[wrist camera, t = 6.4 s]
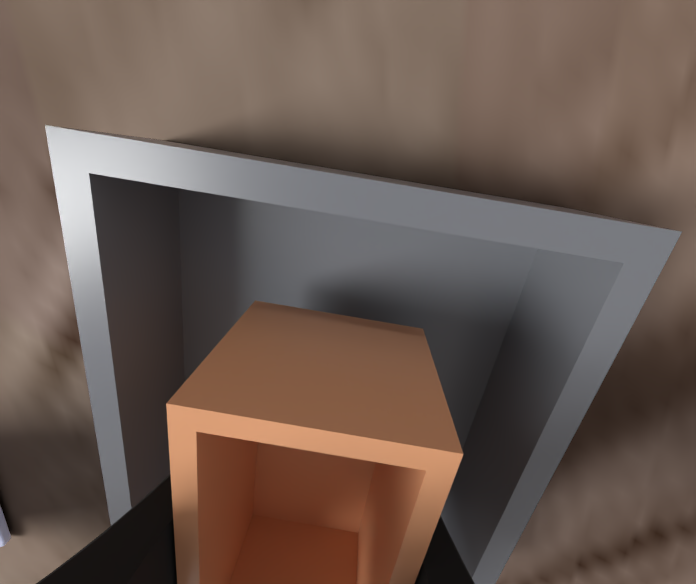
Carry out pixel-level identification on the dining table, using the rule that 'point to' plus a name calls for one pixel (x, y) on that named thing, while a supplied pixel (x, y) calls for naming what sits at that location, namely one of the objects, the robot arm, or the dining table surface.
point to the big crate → (346, 301)
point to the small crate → (309, 452)
